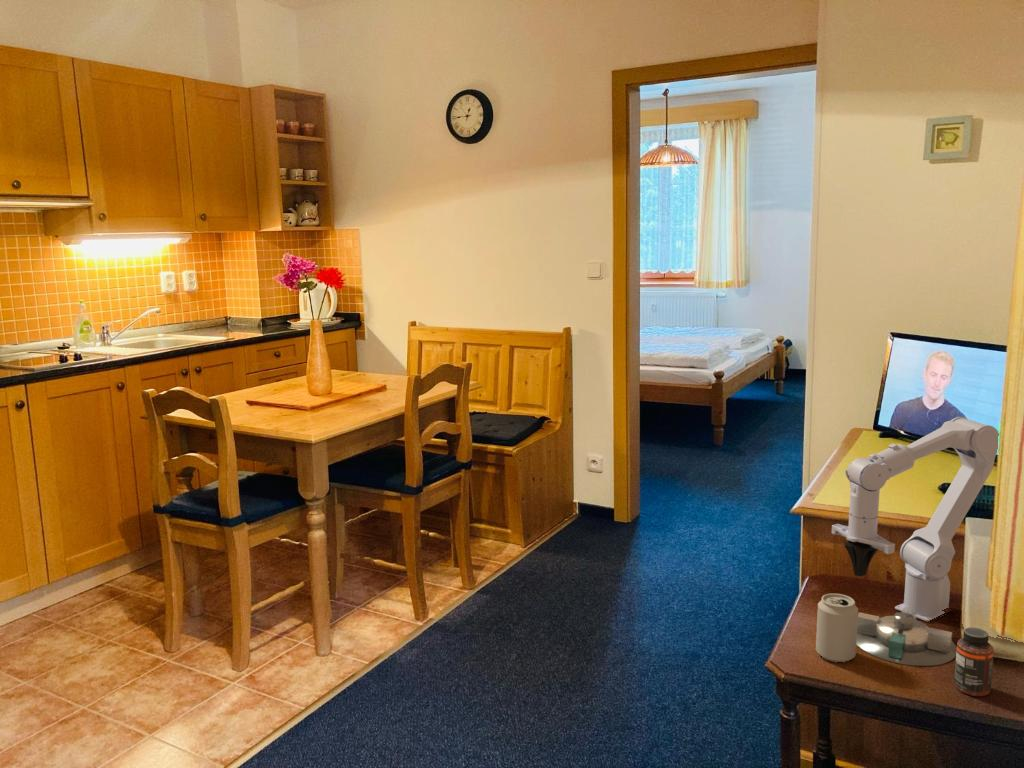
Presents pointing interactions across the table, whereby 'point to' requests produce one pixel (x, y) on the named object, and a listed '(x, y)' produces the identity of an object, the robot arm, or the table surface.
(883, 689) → the table surface
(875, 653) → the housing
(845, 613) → the can
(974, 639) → the supplement bottle
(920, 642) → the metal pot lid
